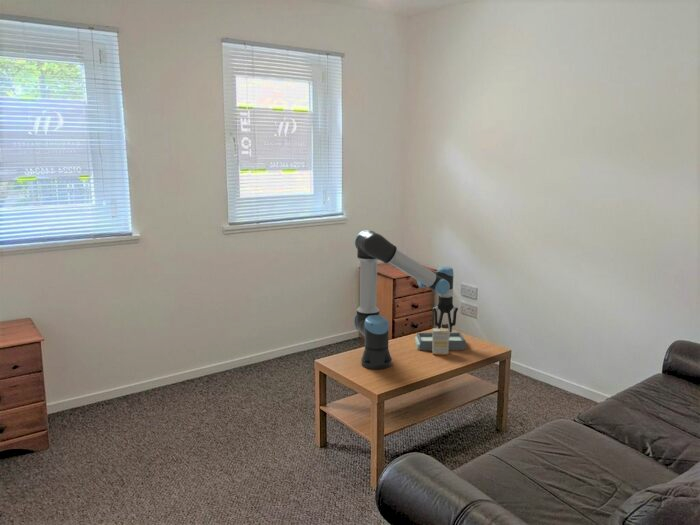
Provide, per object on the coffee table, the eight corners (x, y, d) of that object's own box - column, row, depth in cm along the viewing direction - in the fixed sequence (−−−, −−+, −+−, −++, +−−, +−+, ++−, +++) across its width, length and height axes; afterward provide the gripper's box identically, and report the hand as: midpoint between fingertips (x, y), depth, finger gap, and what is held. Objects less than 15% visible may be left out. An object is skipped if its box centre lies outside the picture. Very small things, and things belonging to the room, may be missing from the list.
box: (417, 350, 292) (418, 341, 291) (414, 341, 306) (414, 332, 305) (465, 349, 292) (465, 340, 291) (460, 340, 306) (460, 332, 305)
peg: (440, 344, 301) (441, 323, 298) (447, 344, 301) (447, 323, 298) (441, 346, 297) (442, 325, 295) (448, 346, 297) (448, 325, 295)
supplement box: (447, 352, 289) (448, 328, 287) (448, 355, 285) (449, 331, 282) (431, 351, 290) (432, 327, 288) (432, 354, 285) (432, 330, 283)
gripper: (431, 297, 290) (430, 340, 294) (462, 297, 290) (461, 339, 294) (429, 294, 297) (428, 335, 302) (459, 293, 297) (458, 335, 302)
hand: (444, 337), depth 298 cm, fingers closed on peg, 3 cm apart
